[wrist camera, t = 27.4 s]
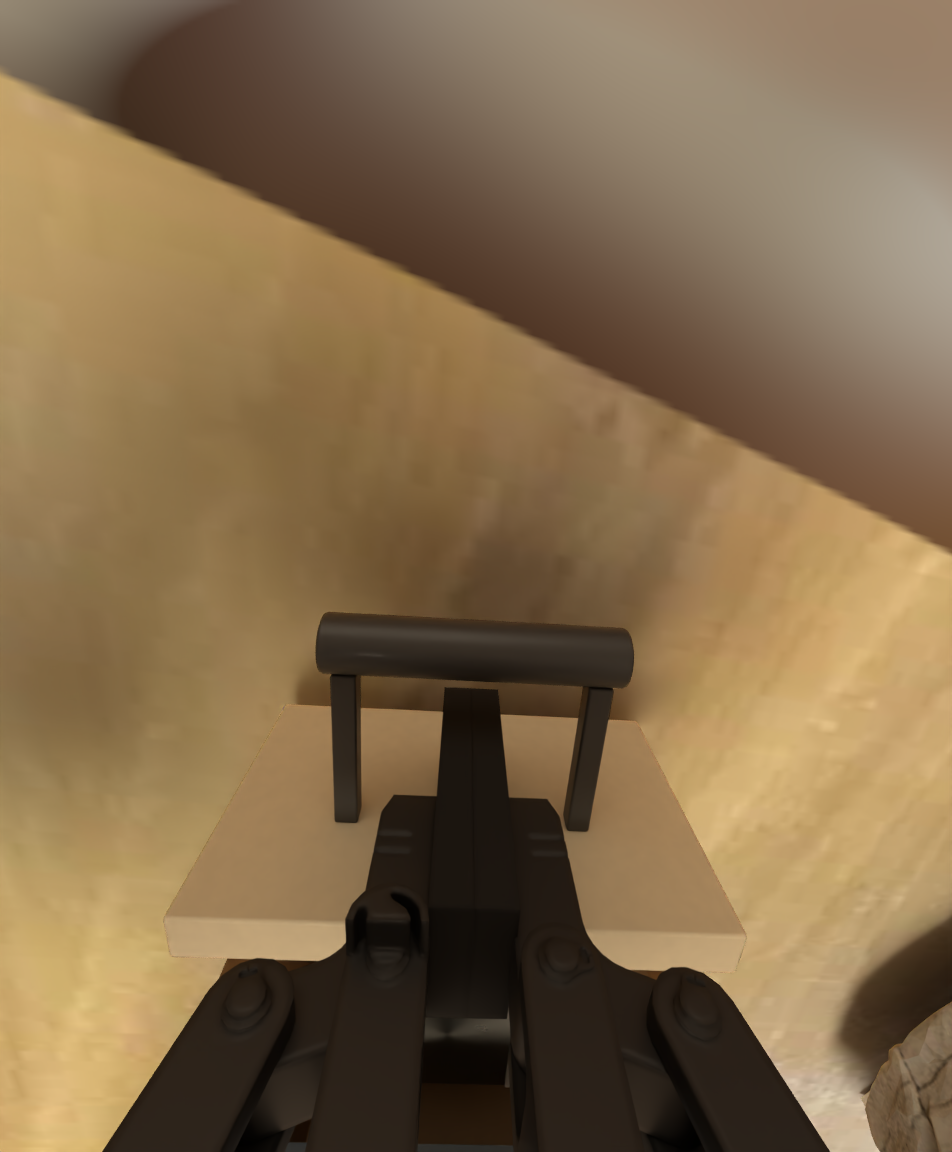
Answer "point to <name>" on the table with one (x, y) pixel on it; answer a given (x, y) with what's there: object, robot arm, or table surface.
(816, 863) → the table surface
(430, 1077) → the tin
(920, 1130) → the rock sample
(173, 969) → the table surface
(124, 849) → the table surface
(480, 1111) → the drawer
